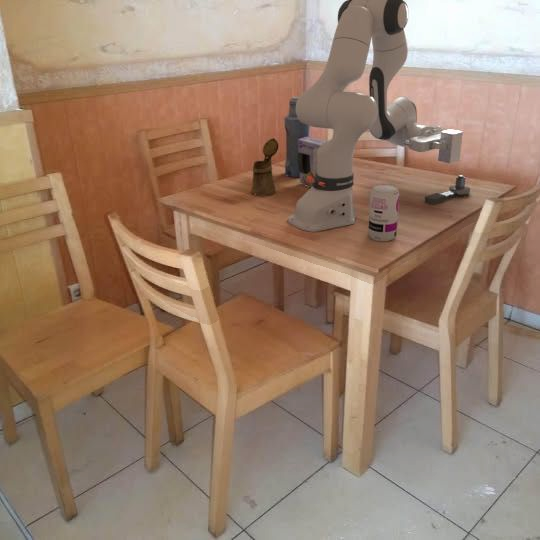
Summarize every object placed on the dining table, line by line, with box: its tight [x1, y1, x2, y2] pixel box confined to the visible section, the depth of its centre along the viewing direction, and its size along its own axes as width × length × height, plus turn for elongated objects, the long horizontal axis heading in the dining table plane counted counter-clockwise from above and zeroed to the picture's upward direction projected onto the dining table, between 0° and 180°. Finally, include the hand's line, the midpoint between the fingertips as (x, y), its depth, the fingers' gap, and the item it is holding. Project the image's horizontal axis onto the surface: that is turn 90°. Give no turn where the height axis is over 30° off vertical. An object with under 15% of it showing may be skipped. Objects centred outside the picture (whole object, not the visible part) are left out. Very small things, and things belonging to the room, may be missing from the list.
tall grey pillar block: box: [437, 129, 464, 164], centre depth 190 cm, size 5×5×10 cm
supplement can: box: [367, 183, 400, 242], centre depth 161 cm, size 8×8×15 cm
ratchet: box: [424, 174, 471, 206], centre depth 192 cm, size 19×7×6 cm, turn 124°
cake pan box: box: [298, 136, 326, 188], centre depth 203 cm, size 19×5×18 cm, turn 33°
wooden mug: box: [251, 137, 279, 196], centre depth 203 cm, size 9×14×18 cm, turn 150°
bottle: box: [284, 96, 311, 178], centre depth 217 cm, size 10×10×30 cm
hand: (452, 145), depth 189 cm, fingers closed on tall grey pillar block, 5 cm apart
